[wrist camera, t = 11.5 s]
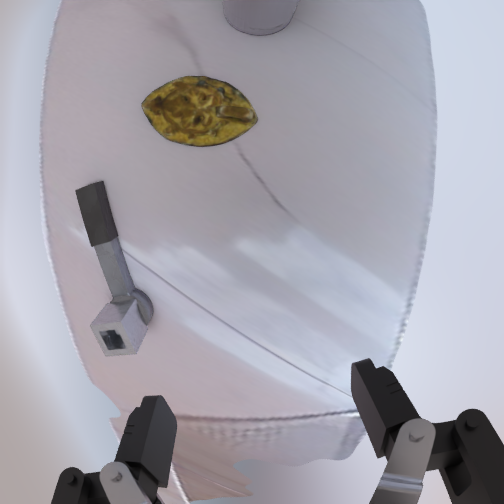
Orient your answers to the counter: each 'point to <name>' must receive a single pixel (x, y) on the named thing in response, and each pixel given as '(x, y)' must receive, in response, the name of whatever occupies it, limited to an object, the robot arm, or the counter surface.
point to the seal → (199, 111)
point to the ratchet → (109, 247)
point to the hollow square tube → (120, 328)
